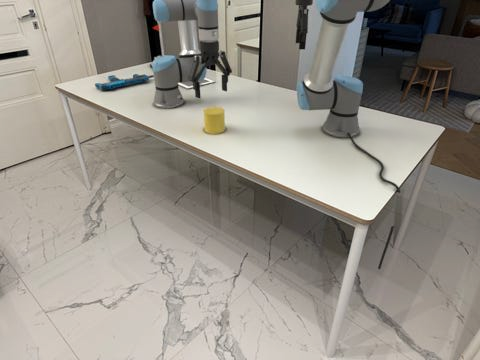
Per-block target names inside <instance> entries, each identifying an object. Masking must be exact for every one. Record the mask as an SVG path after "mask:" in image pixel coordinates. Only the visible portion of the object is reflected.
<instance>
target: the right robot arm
mask: <svg viewBox="0 0 480 360" xmlns="http://www.w3.org/2000/svg"><path fill="white" fill-rule="evenodd" d="M390 1H391V0H316V8H317V10H318V12H319V15H320V18H321V19H322V20H321V25H320V28H319V33H318V36H317V41H316V44H315V49H314V53H313V57H312V61H311V63H310V68H309V72H307V73H306V74H305V75H304V77H303V80H300V81H298V82H297V84H296V97H297V102H298V107H299V109H301V110H302V111H322V110H325V111H326V110H329V112H328V115H327V117H326V120H325V121H324V123H323V126H322V130H323V132H324V133H325V134H326V135H329V136H332V137H335V138H339V139H341V138H342V139H350V141H351V143H352V145H353V146H354V147H355V148H357V149H358V150H359V151H361V152H362V153H364V154H365V155H367V156H368V157H369V158H371V159H372V160H374V161H375V162H377V163H378V164H379V165H380V170H379V173H378V177H379V179H380V180H381V181H382V182H384V183H387V184H390V185H391V186H393V187H394V188H395V189H396V192H397V193H399V194H400V193H401V189H400V187H399V186H398V184H396V183H395V182H393V181H391V180H388V179H386V178H384V177H383V172H384V169H385V166H384V164H383V162H382V161H381V160H380V159H378V158H377V157H376V156H374V155H372V154H371V153H369V152H368V151H367V150H365V149H364V148H362V147H360V146H359V145H358V144H357V143H356V142H355V140H354V137H356V136H357V135H359V132H360V125H359V118H358V117H359V116H358V114H359V111H360V110H359V109H360V105H361V101H362V95H363V89H364V83H363V82H362V80H360V79H359V78H356V77H354V76H351V75H342V74H339V75H336V76H335V77H334V79H333V77H332V76H333V73H334V71H335V67H336V63H337V61H338V58H339V54H340V51H341V48H342V46H343V42H344V38H345V35H346V32H347V30H348V27H349V25H351V24H352V23H353V22H354V21H355V20H356V17H357V14H358V13H364V12H369V13H370V12H374V11H377V10H380V9H382V8H383V7H385V6H386V5H388V3H389V2H390ZM313 2H314V0H295V5H296V6H298V10H297V18H296V33H295V44H299V45H298V50H306V45H307V34H308V33H309V31H308V29H309V12H310V10H309V8H308V6H312V5H313V4H314V3H313ZM394 229H395V225H393V226H390V229H389V233H388V236H387V240H386V243H385V246H384V248H383V251H382V254H381V257H380V261H379V263H378V267H377V270H381V269H382V265H383V263H384V258H385V255H386V253H387V251H388V248H389V245H390V242H391V238H392V236H393V232H394Z"/></svg>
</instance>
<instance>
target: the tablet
mask: <svg viewBox="0 0 480 360" xmlns="http://www.w3.org/2000/svg"><path fill="white" fill-rule="evenodd" d="M198 82H200V87H202V86H205V85H209V84H213V83H216V81H215V80H212V79H210V78H207V77H205V78H204V79H203V80H200V81H198ZM178 86H180V87H181V88H184V89H186V90H190V89H193V82H182V83H178Z"/></svg>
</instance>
